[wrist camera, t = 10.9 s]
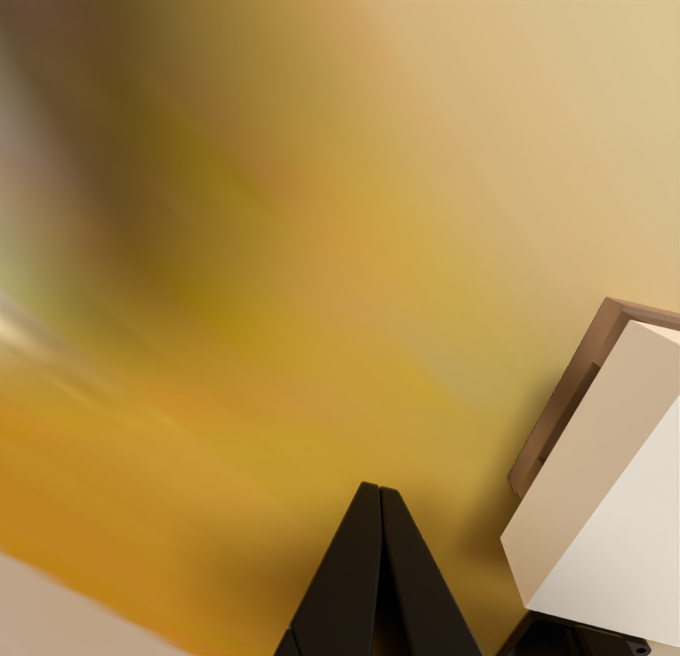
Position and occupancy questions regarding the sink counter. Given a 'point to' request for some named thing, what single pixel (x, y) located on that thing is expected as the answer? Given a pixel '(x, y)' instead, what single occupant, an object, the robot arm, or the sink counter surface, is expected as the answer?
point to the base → (580, 382)
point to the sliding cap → (610, 500)
